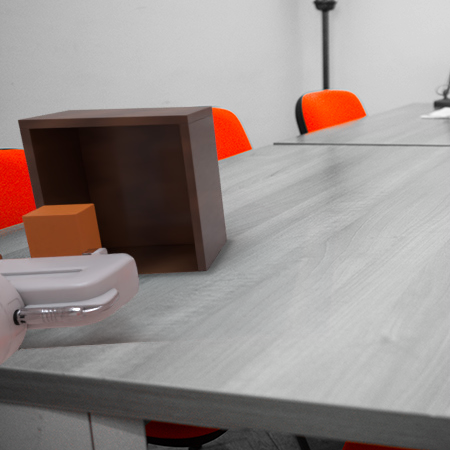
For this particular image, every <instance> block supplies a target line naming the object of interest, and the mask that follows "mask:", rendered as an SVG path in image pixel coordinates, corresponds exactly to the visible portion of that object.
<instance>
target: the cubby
mask: <svg viewBox="0 0 450 450" xmlns="http://www.w3.org/2000/svg"><path fill="white" fill-rule="evenodd" d="M213 112H214V111H213V106H212V105H204V106H203V105H201V106H169V107H166V106H165V107H164V106H163V107H135V108H133V107H131V108H99V109H98V108H97V109H67V110H62V111H58V112H52V113H47V114H42V115H37V116H32V117H26V118H21V119H18V120H17V123H18V128H19V133H20V134H19V135H20V139H21V144H22V149H23V152H24V157H25V162H26V167H27V172H28V176H29V177H28V178H29V181H30V185H31V190H32V194H33V195H32V196H33V200H34V205H35V210H36V209H38V208H40V207H42V206H50V205H74V204H94V207H95V213H96V219H97V224H98V230H99V235H100V241H101V246H102V248H106V250H107V254H118V253H125V254H128V255H130V256H131V257H133V258H134V260H135V263H136V267H137V272H138V276H139V275H159V274H179V273H201V272H207V271H209V269H210V267H211V266H212V264H213V262H214V261H215V259H216V258H217V257H218V255H219V254H220V252H221V251H222V249H223V248H224V247H225V245H226V243H227V242H228V237H227V227H226V220H225V219H226V218H225V211H224V202H223V193H222V185H221V176H220V166H219V158H218V149H217V139H216V132H215V131H216V130H215V123H214V115H213Z"/></svg>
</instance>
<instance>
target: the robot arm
mask: <svg viewBox="0 0 450 450" xmlns="http://www.w3.org/2000/svg"><path fill="white" fill-rule="evenodd" d="M139 290H140V280H139V275H138V272H137V267H136V263H135V260H134V258H133V257H131V256H130V255H128V254H125V253H118V254H107V250H106V248H95V249H88V250H87V251H85V252H84V253H82V255H81V256H61V257H42V258H31V257H24V258H6V259H5V258H3V256H2V254H1V253H0V366H1V365H2V364H4V363H5V362H6V361H7V360H8V359H9V358H10V357H12V356H13V355H14V354H15V353H16V352H17V351H18V349H19V348H20V347H21V346H22V343H24V339H25V337H26V334H27V331H28V330H42V329H59V328H74V327H75V328H76V327H83V326H88V325H93V324H96V323H99V322H101V321H103V320H105V319H107V318H109V317H110V316H112V315H113V314H115V313H116V312H118V311H119V310H120V309H122V308H123V307H124V306H125V305H127V303H130V301H131V300H132V299H134V297H136V296H137V295H138V293H139Z"/></svg>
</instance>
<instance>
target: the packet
mask: <svg viewBox="0 0 450 450" xmlns="http://www.w3.org/2000/svg"><path fill="white" fill-rule="evenodd" d="M21 219H22V223H23V227H24V232H25V236H26V241H27V247H28V250H29V254H30V255H29V256H30V258H42V257H61V256H81V255H82V253H84V252H85V251H87V250H88V249H95V248H102V246H101V241H100V235H99V230H98V224H97V219H96V213H95V207H94V204H74V205H50V206H42V207H40V208H38V209H36V208H35V209H33V210H32V211H30V212H28V213H26V214H23V215H22V216H21Z"/></svg>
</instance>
